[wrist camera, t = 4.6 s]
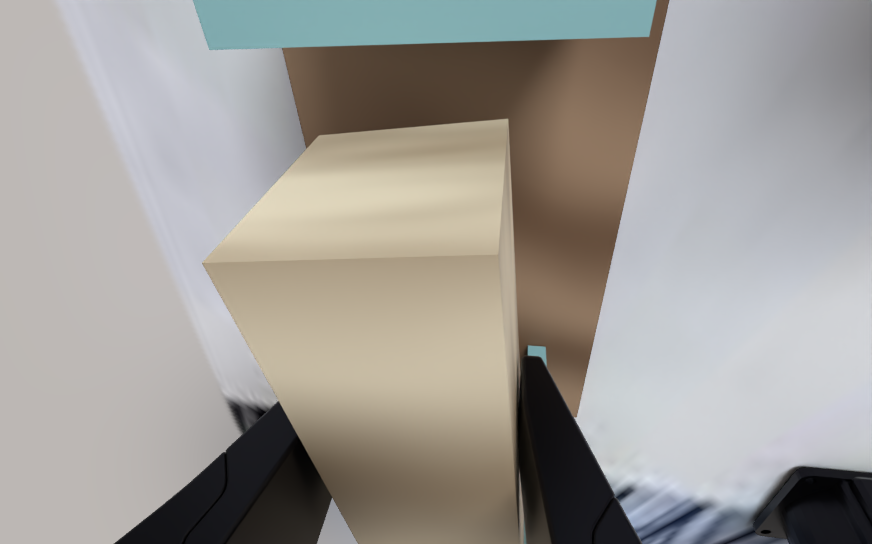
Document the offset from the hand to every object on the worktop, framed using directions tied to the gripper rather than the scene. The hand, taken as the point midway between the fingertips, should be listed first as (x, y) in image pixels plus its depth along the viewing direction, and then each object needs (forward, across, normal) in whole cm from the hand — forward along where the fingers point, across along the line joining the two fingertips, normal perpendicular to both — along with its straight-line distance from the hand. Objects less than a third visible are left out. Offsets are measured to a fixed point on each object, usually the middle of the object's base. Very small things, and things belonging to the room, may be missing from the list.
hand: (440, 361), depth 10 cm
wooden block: (+1, 0, 0) cm, 1 cm away
